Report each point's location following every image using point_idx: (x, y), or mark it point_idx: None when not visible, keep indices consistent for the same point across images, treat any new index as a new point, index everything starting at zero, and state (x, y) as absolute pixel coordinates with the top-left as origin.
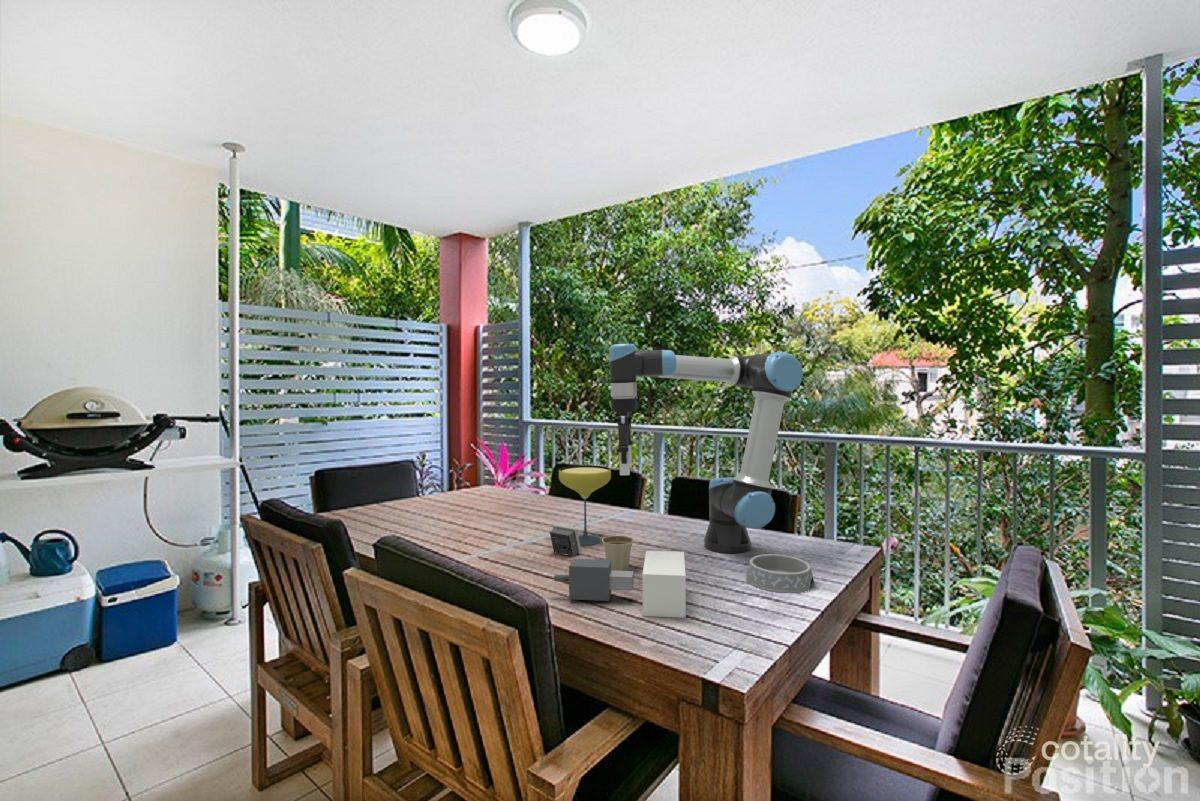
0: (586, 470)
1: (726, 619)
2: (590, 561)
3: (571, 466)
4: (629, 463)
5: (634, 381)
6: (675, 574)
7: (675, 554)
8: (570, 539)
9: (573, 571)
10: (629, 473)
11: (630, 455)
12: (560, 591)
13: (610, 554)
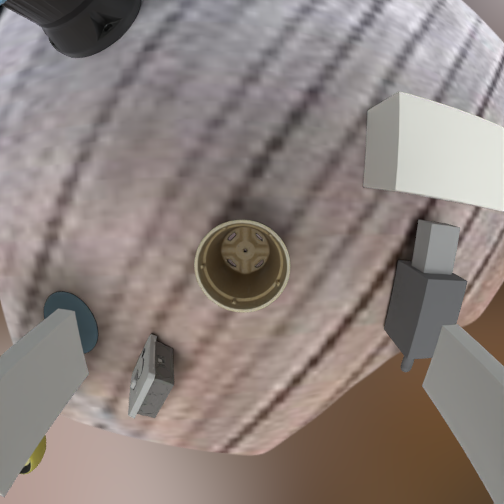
0: None
1: (470, 81)
2: (431, 322)
3: None
4: (64, 342)
5: None
6: None
7: (421, 117)
8: (171, 375)
9: None
10: (463, 330)
11: (20, 370)
12: (370, 348)
13: (271, 277)
